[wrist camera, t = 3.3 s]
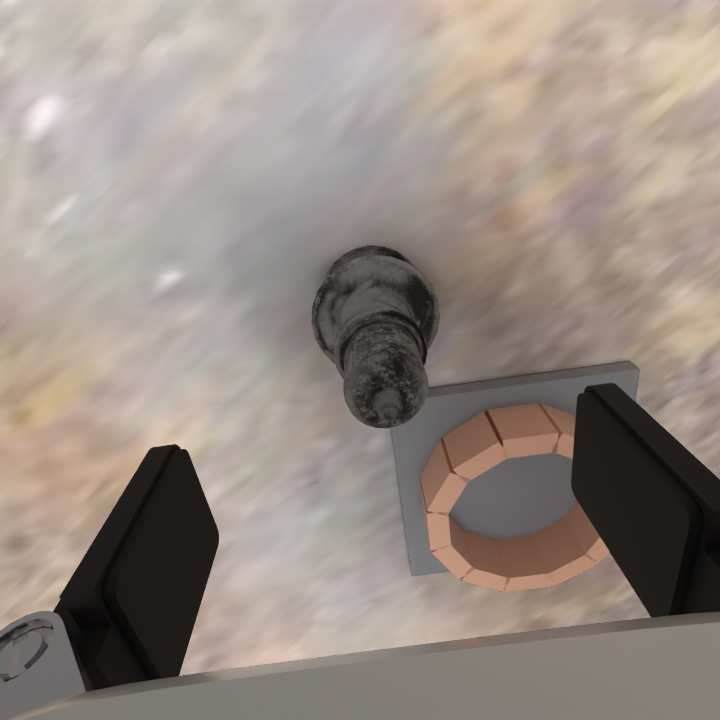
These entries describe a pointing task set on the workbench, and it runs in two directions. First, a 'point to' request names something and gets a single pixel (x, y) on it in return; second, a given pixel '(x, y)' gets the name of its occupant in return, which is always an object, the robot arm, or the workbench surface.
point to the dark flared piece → (377, 333)
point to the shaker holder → (500, 479)
